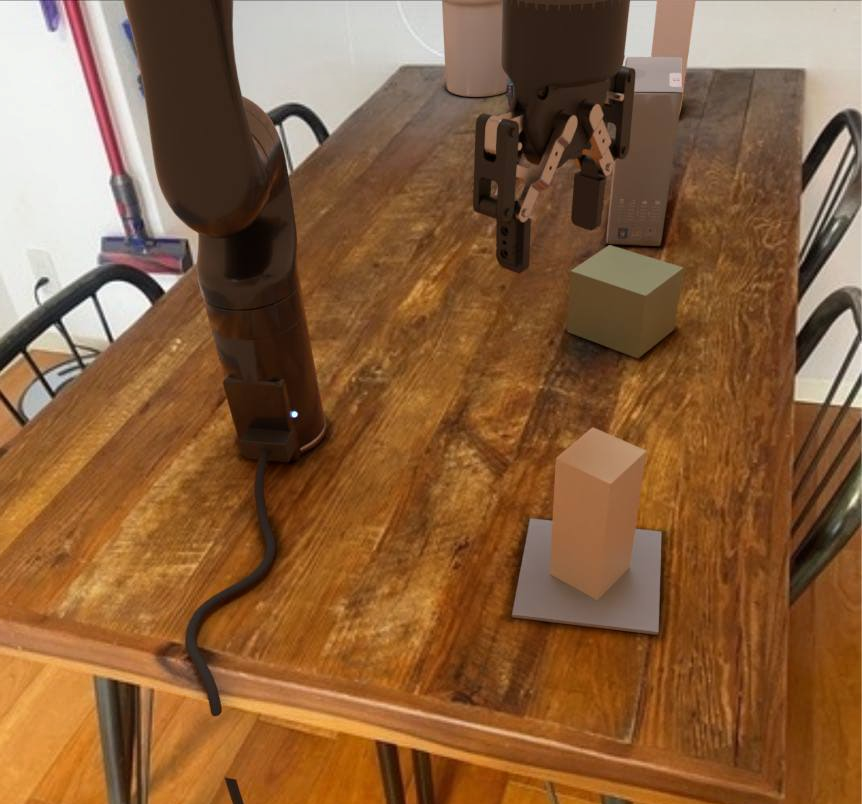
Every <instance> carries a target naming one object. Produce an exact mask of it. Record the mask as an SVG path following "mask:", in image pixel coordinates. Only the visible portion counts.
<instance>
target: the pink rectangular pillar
mask: <svg viewBox="0 0 862 804" xmlns="http://www.w3.org/2000/svg"><path fill="white" fill-rule="evenodd" d="M695 7H696V0H656V6H655V15H654V26H653V35H652V45H651V53H650V57H681V58H682V82H683V92H684V89H685V82H686V74H687V69H688V68H687V67H688V62H689V61H688V60H689V53H690V45H691V38H692V31H693V22H694V16H695ZM683 97H684V93H683V94H682V100H681V107H680V112H681V111H682V107H683V99H684V98H683ZM680 114H681V113H680ZM680 114H679V116H680Z"/></svg>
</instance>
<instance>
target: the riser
mask: <svg viewBox="0 0 862 804" xmlns="http://www.w3.org/2000/svg"><path fill="white" fill-rule="evenodd" d="M684 269H685V267H683V266H680V265H676V264H674V263H670V262H667V261H663V260H661V259H657V258H654V257H651V256H648V255H644V254H641V253H637V252H634V251H631V250H628V249H624V248H621V247H618V246H616V245H615V246H614V245H612V244H609V245H607V246H605V247H604V248H603V249H600V251H598V252H597V253H595V254H594V255H592V256H591V257H589V258H588V259H586V260H585V261H583V262H581V263H580V264H578V265H577V266H575V267H574V268H573V269H570V275H569V290H568V291H569V293H568V307H567V308H568V309H567V327H566V332H567V333H569V334H571V335H574V336H577V337H579V338H582V339H585V340H587V341H589V342H592V343H596V344H598V345H600V346H603V347H605V348H609V349H611V350H613V351H615V352H619V353H621V354H625V355H628V356H630V357H633V358H635V359H640V358H641V357H643V355H645V354H646V353H647V352H648V351H650V350H651V349H652V348H653V347H654V346H656V345H657V344H658V343H659V342H661V341H662V340H663V339H665V338H666V337H667V336H668V335H669V334H671V333H672V332H673V331H674V330H675V327H676V320H677V315H678V308H679V300H680V296H681V295H680V294H681V288H682V282H683V277H684V276H683V275H684Z"/></svg>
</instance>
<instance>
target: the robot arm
mask: <svg viewBox="0 0 862 804" xmlns="http://www.w3.org/2000/svg"><path fill="white" fill-rule="evenodd" d="M122 1H123V5H124V9H125V13H126V16H127V19H128V23H129V27H130V31H131V35H132V38H133V42H134V47H135V51H136V56H137V60H138V61H137V62H138V64H139V70H140V71H139V72H140V75H141V76H140V77H141V82H142V89H143V96H144V102H145V109H146V115H147V122H148V130H149V137H150V138H149V139H150V144H151V151H152V157H153V158H152V159H153V164H154V165H153V166H154V170H155V175H156V180H157V183H158V186H159V189H160V191H161V194H162V196H163V198H164V200H165V202H166V203H167V205H168V206H169V208H170V210H171V211H172V212H173V214H174V215H175V216H176V217H177V218H178V219H179V220H180V221H181V222H182V223H183V224H184V225H185V226H187V227H188V228H189V229H191V230H192V231H194V232H196V233H197V237H198V238H197V254H196V264H195V272H196V278H197V282H198V286H199V289H200V293H201V296H202V300H203V304H204V307H205V310H206V314H207V318H208V323H209V326H210V330H211V334H212V337H213V341H214V345H215V349H216V352H217V356H218V360H219V363H220V367H221V368H220V369H221V372H222V375H223V380H222V386H223V389H224V393H225V397H226V400H227V404H228V407H229V412H230V415H231V419H232V422H233V426H234V430H235V432H236V433H235V434H236V437H237V442H238V444H239V448H240V452H241V456H243V457H244V459H247V460H248V459H249V460H257V466H256V469H255V477H254V498H255V505H256V513H257V518H258V523H259V527H260V530H261V533H262V535H263V538H264V541H265V553H264V556H263V557H262V560H261V562H260V563H259V565H258V566H257V567H256V569H254V570H253V571H252V572H251V573H250V574H248V575H247V576H246V577H244V578H242V579H241V580H238V581H237V582H236V583H233V584H232V585H230V586H228V587H226V588H225V589H223V590H221V591H220V592H217V593H216V594H214V595H212V596H211V597H209V598H208V599H207V600H205V602H203V603H202V604H201V605H199V607H198V608H197V609H196V610H195V611H194V612H193V614H192V616H191V618H190V619H189V622H188V624H187V628H186V630H185V631H186V632H185V642H184V643H185V649H186V652H187V654H188V656H189V658H190V661H191V662H192V664H193V666H194V667H195V670H196V671H197V673H198V675H199V677H200V679H201V681H202V684H203V686H204V689H205V692H206V697H207V700H208V705H209V710H210V714H211V716H213V717H218V716H220V715H221V714H222V712H223V707H222V702H221V697H220V694H219V690H218V686H217V684H216V681H215V678H214V675H213V674H212V672H211V669H210V668H209V666H208V664H207V662H206V661H205V659H204V657H203V656H202V654H201V651H200V649H199V646H198V643H197V633H198V629H199V627H200V624H201V623H202V621H203V619H204V618H205V617H206V616H207V614H208V613H209V612H210V611H212V610H213V609H214V608H216V607H217V606H218V605H220V604H221V603H223V602H225V601H226V600H228V599H230V598H232V597H234V596H235V595H237V594H239V593H241V592H243V591H244V590H246V589H248V588H250V587H251V586H252V585H254V584H255V583H256V582H258V581H259V580H260V579H261V578H262V577H264V576H265V574H266V573H267V572H268V570H269V569H270V567H271V566H272V564H273V562H274V558H275V556H276V541H275V536H274V533H273V530H272V528H271V525H270V521H269V518H268V512H267V506H266V499H265V491H264V489H265V488H264V485H265V483H264V481H265V474H266V468H267V464H268V461H269V462H281V463H290V461H292V462H295V461H298V460H299V458H300V456H302V454H305V453H306V452H309V451H310V450H312V449H313V448H315V447H317V446H318V444H320V442H322V441H323V439H324V437H325V435H326V434H327V429H328V425H327V419H326V415H325V414H324V408H323V402H322V397H321V392H320V385H319V380H318V375H317V369H316V364H315V358H314V353H313V348H312V342H311V336H310V330H309V326H308V320H307V315H306V309H305V303H304V302H305V301H304V298H303V297H304V296H303V292H302V291H303V290H302V286H301V280H300V276H299V269H298V231H297V223H296V217H295V210H294V203H293V195H292V190H291V182H290V175H289V169H288V165H287V159H286V154H285V149H284V145H283V143H282V139H281V137H280V134H279V132H278V129H277V127H276V126H275V124H274V123H273V121H272V119H271V118H270V116H269V115H268V114H267V113H266V112H265V111H264V109H263V108H261V106H260V105H258V104H256V103H255V102H254V101H252V100H251V99H249V98H247V97H245V96H243V93H242V89H241V84H240V79H239V75H238V68H237V62H236V55H235V45H234V0H122ZM630 5H631V0H502V57H501V63H502V68H503V70H504V72H505V73H506V74H507V75H508V76H509V78H510V80H511V81H512V83H513V86H514V94H513V100H512V103H511V107H510V110H509V109H508V110H509V111H508V112H507V113H504V114H500V115H498V116H497V115H493V114H489V113H485V112H482V113H481V114H479V115H478V116H477V118H476V122H475V131H474V132H475V133H474V163H473V165H474V166H473V195H472V209H473V211H474V212H475V213H477V214H480V215H483V216H486V217H489V218H492V219H495V221H496V224H495V225H496V226H495V227H496V230H495V232H496V233H495V234H496V235H495V236H496V237H495V239H496V240H495V241H496V243H495V247H496V249H495V257H496V261H497V263H498V264H499V266H500V267H501V268H503V269H505V270H508V271H511V272H513V273H515V274H516V273H517V274H521V273H523V272H524V271H526V270H528V269H529V268H530V258H531V257H530V255H531V229H532V218H530V217H531V214H532V211H533V209H534V206H535V204H536V201H537V199H538V197H539V194H540V192H542V191H543V190H546V189H547V188H548V187H549V186H550V185H551V182H552V180H553V177H554V175H555V173H556V170H557V169H559V168H561V167H563V165H565V164H566V163H567V162H568V161H570V160H573V162H574V164H575V166H576V168H577V169H579V171H577V172H575V173H574V175H573V176H574V177H573V190H572V201H571V202H572V204H571V215H570V216H571V218H570V219H571V222H572V224H573V225H574V226H576V227H579V228H582V229H585V230H587V231H594V230H595V229H598V227H600V226H601V225H602V219H603V211H604V204H605V203H604V201H605V193H606V183H607V177H609V176H611V174H612V173H613V167H614V161H615V160H616V159H617V158H618V159H624V158H625V157H626V156H627V154H628V152H629V146H630V134H631V123H632V111H633V99H634V88H635V76H636V72H635V69H634V68H629V67H625V65H624V63H625V62H624V61H625V58H624V55H625V54H626V53H625V52H626V45H627V43H626V42H627V34H628V23H629V16H630V15H629V13H630V7H631V6H630ZM608 123H610V124H612V125H614V126H615V136H614V137H615V138H614V137H611V136H610V134H609V132H608ZM522 156H524V158H525V160H526V161H527V162H528V163H529V164H532V165H534V166H536V167H534V168H530V167H526V166H523V165H520V161H521V159H522ZM492 182H494V183H496V185H497V187H496V189H495V192H494V194H492ZM519 183H522V184H524V185H523V188H522V191H521V193H520V195H519V198H518V199H516V186H517V185H518V184H519ZM224 781H225V784H226V787H227V790H228V793H229V796H230V800H231V803H232V804H245V803H244V800H243V797H242V794H241V790H240V787H239V784H238V780H237V779H236V778H231V777H230V778H229V777H224Z"/></svg>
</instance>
